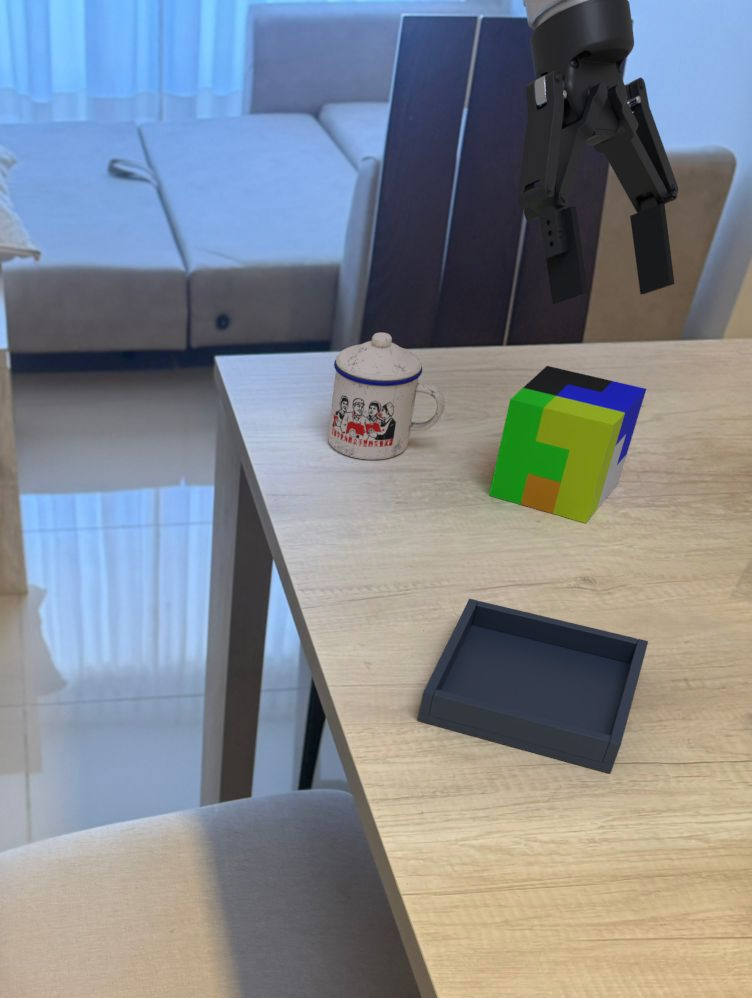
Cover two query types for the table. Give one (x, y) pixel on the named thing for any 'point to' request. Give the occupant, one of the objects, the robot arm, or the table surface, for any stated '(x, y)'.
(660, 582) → the table surface
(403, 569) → the table surface
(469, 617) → the dark gray tray
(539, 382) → the puzzle toy
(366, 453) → the teacup with lid
